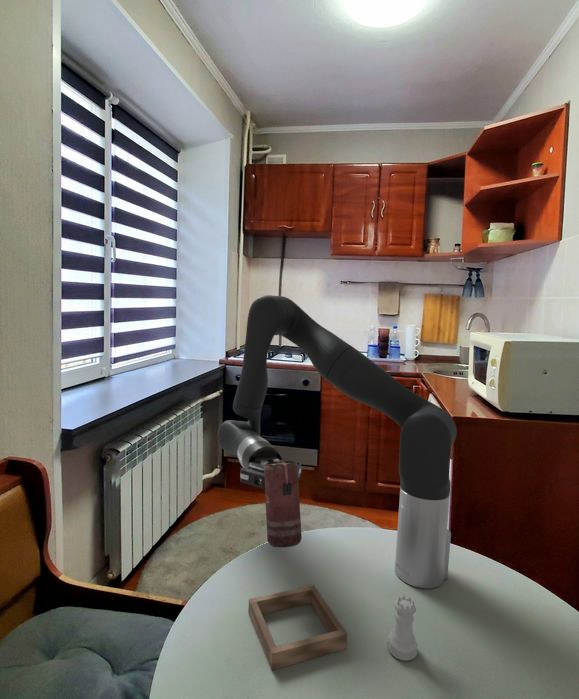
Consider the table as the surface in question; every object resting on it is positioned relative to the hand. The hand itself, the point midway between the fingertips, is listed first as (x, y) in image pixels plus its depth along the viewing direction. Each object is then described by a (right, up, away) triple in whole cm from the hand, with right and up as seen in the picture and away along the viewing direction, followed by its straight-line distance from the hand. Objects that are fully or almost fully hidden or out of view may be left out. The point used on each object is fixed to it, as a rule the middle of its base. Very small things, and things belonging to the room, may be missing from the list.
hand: (287, 490), depth 73 cm
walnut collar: (+1, -20, -6) cm, 21 cm away
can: (0, -10, +1) cm, 10 cm away
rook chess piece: (+17, -21, -9) cm, 29 cm away
